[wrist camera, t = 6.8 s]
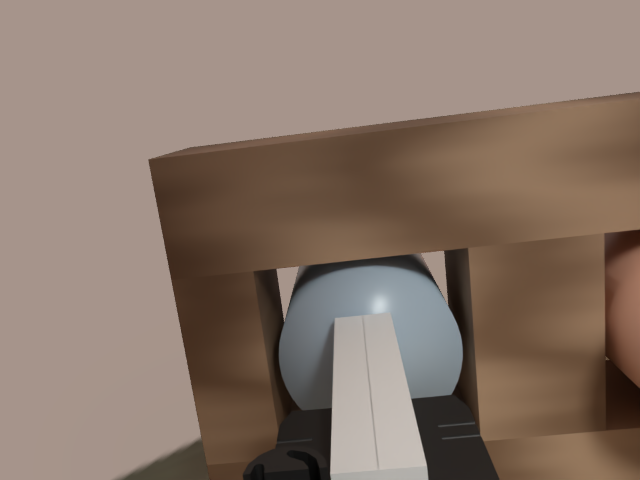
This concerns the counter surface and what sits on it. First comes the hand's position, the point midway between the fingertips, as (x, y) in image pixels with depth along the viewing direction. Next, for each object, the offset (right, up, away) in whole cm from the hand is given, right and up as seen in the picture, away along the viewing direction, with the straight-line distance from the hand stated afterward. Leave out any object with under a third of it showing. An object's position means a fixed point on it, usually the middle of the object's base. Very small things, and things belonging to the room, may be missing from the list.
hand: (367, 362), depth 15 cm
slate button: (+1, -1, +5) cm, 5 cm away
